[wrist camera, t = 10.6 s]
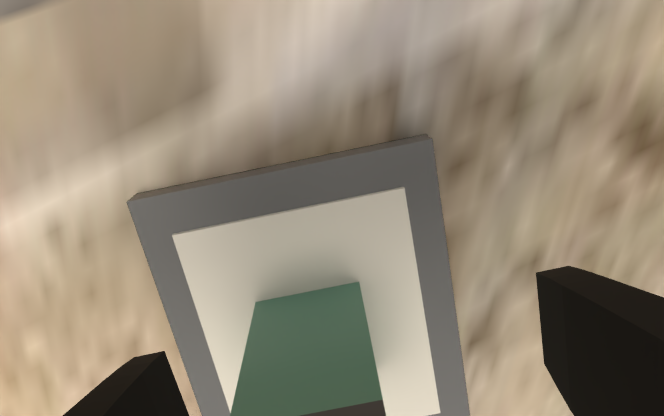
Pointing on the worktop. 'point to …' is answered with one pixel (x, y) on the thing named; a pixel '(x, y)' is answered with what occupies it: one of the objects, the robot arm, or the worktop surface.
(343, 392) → the green and grey block
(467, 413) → the grey picture frame
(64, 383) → the worktop surface
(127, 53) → the worktop surface
